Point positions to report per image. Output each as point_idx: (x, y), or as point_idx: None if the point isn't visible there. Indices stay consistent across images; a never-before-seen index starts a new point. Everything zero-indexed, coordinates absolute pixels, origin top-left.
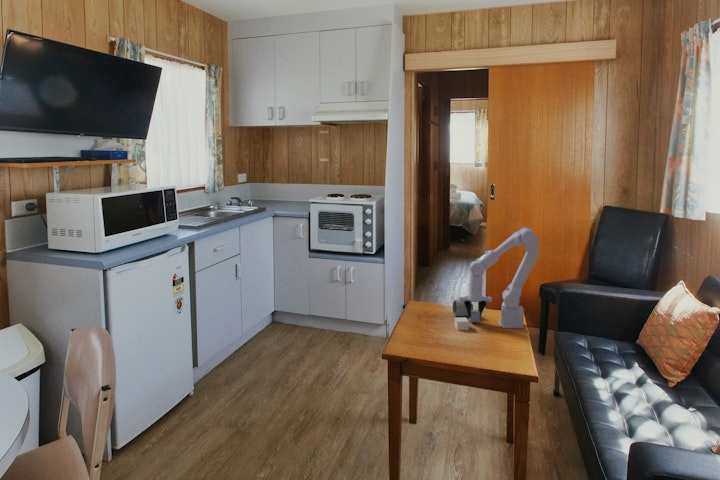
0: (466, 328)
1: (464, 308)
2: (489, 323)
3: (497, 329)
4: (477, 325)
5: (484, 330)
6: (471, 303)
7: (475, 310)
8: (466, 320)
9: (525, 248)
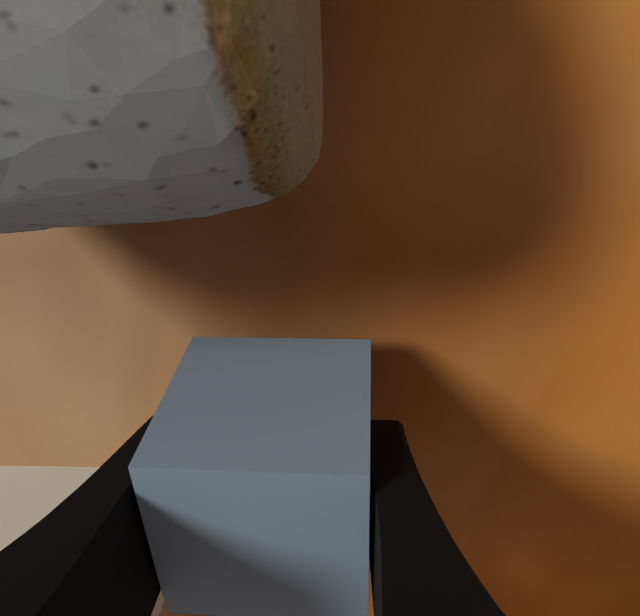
0: None
1: (16, 230)
2: (563, 405)
3: (567, 585)
4: None
5: None
6: (235, 97)
7: (304, 486)
8: None
9: None
